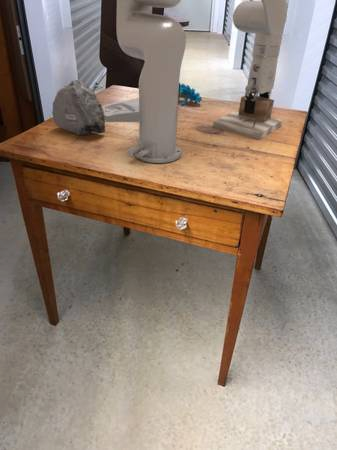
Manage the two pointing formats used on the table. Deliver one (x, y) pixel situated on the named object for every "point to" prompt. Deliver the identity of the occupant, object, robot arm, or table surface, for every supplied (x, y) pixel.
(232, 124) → the board
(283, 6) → the robot arm
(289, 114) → the table surface
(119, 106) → the ramp
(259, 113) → the block
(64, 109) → the decorative rock
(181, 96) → the gear
